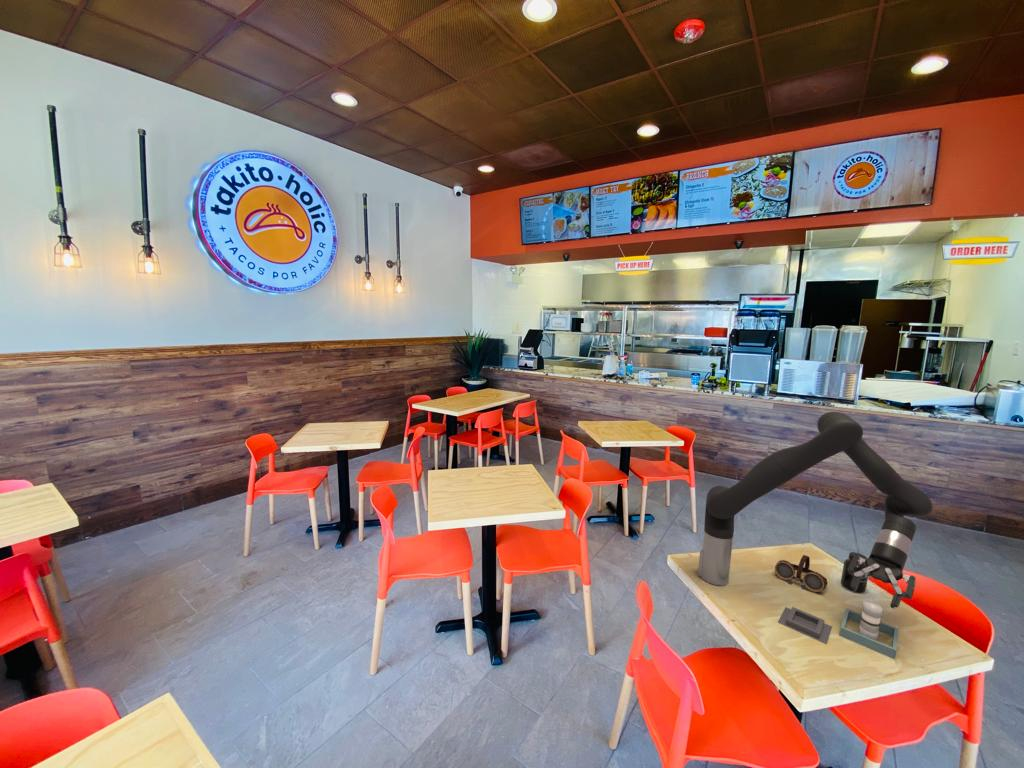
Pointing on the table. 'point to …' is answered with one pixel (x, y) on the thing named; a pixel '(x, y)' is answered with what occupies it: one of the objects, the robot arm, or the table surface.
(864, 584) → the supplement bottle
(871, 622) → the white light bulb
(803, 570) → the goggles
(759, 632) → the table surface
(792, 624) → the grey recessed base plate
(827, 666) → the table surface
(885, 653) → the parts tray
